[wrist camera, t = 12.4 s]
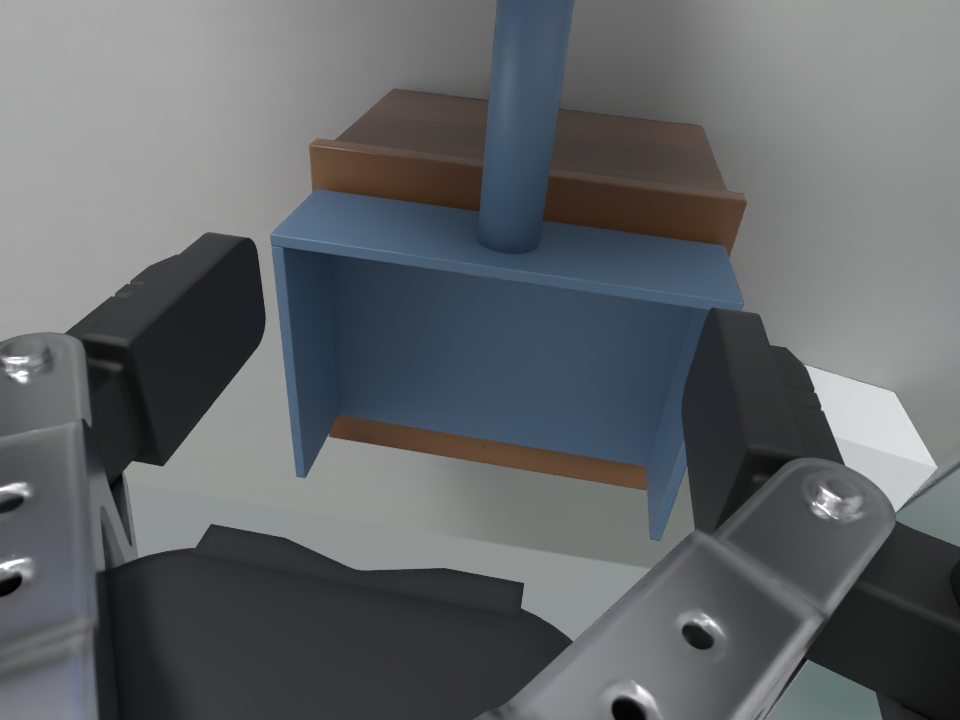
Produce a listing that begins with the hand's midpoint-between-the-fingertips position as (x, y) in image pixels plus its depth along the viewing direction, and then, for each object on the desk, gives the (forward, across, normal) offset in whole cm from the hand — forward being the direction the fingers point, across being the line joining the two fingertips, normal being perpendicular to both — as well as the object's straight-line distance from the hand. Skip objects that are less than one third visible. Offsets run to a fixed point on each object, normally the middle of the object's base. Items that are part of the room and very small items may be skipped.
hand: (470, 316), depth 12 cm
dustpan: (+12, 0, +3) cm, 13 cm away
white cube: (+22, -17, +17) cm, 33 cm away
